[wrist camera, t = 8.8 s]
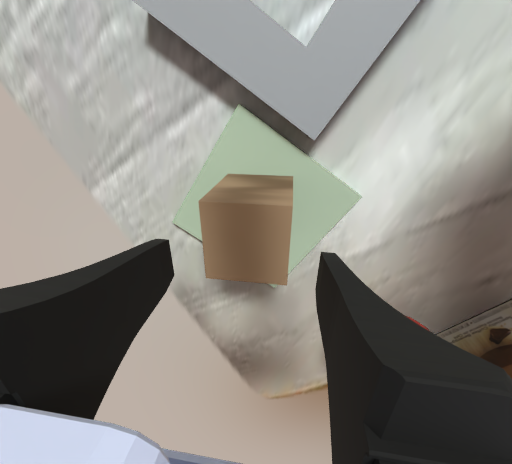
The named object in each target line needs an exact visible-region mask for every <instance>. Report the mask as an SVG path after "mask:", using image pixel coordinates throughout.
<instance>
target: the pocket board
mask: <svg viewBox="0 0 512 464" xmlns="http://www.w3.org/2000/svg"><path fill="white" fill-rule="evenodd" d="M133 1H134V2H135V3H136V4H138V5H139V6H140V7H142V8H143V9H144V10H146V11H147V12H148V13H149V14H151V15H152V16H153V17H155V18H156V19H157V20H158V21H160V22H161V23H162V24H164V25H165V26H166V27H168V28H169V29H170V30H171V31H173V32H174V33H175V34H177V35H178V36H179V37H181V38H182V39H183V40H184V41H186V42H187V43H188V44H190V45H191V46H192V47H194V48H195V49H196V50H197V51H199V52H200V53H201V54H203V55H204V56H205V57H207V58H208V59H209V60H210V61H212V62H213V63H214V64H216V65H217V66H218V67H219V68H221V69H222V70H223V71H225V72H226V73H227V74H229V75H230V76H231V77H232V78H234V79H235V80H236V81H238V82H239V83H240V84H242V85H243V86H244V87H245V88H247V89H248V90H249V91H251V92H252V93H253V94H255V95H256V96H257V97H258V98H260V99H261V100H262V101H264V102H265V103H266V104H268V105H269V106H270V107H271V108H273V109H274V110H275V111H277V112H278V113H279V114H280V115H282V116H283V117H284V118H286V119H287V120H288V121H290V122H291V123H292V124H293V125H295V126H296V127H297V128H299V129H300V130H301V131H303V132H304V133H305V134H306V135H308V136H309V137H310V138H312V139H313V140H314V141H315V139H316V138H317V137H318V135H319V134H320V133H321V131H322V130H323V129H324V127H325V126H326V125H327V123H328V122H329V121H330V119H331V118H332V117H333V115H334V114H335V113H336V111H337V110H338V109H339V108H340V106H341V105H342V104H343V102H344V101H345V100H346V98H347V97H348V96H349V94H350V93H351V92H352V90H353V89H354V88H355V86H356V85H357V84H358V82H359V81H360V80H361V78H362V77H363V76H364V74H365V73H366V72H367V70H368V69H369V68H370V66H371V65H372V64H373V62H374V61H375V60H376V58H377V57H378V56H379V54H380V53H381V52H382V50H383V49H384V48H385V47H386V45H387V44H388V43H389V41H390V40H391V39H392V37H393V36H394V35H395V33H396V32H397V31H398V29H399V28H400V27H401V25H402V24H403V23H404V21H405V20H406V19H407V17H408V16H409V15H410V13H411V12H412V11H413V9H414V8H415V7H416V5H417V4H418V3H419V1H420V0H335V1H334V3H333V5H332V6H331V8H330V10H329V11H328V13H327V14H326V16H325V18H324V19H323V21H322V22H321V24H320V26H319V27H318V29H317V30H316V32H315V34H314V35H313V37H312V38H311V40H310V42H309V43H308V45H307V47H306V46H304V45H303V44H302V43H301V42H300V41H298V40H297V39H296V38H295V37H294V36H292V35H291V34H290V33H289V32H288V31H286V30H285V29H284V28H283V27H282V26H280V25H279V24H278V23H277V22H276V21H275V20H273V19H272V18H271V17H270V16H269V15H267V14H266V13H265V12H264V11H263V10H261V9H260V8H259V7H258V6H257V5H255V4H254V3H253V2H252V1H251V0H133Z"/></svg>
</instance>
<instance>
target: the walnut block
mask: <svg viewBox="0 0 512 464" xmlns="http://www.w3.org/2000/svg"><path fill="white" fill-rule="evenodd" d="M198 203H199V213H200V223H201V233H202V243H203V253H204V263H205V273H206V278H211V279H222V280H233V281H244V282H255V283H266V284H277V285H287V278H288V265H289V251H290V238H291V225H292V212H293V176H277V175H250V174H227V175H226V176H225V177H224V178H223V179H222V180H221V181H220V182H219V183H217V184H216V185H215V186H214V187H213V188H212V189H211V190H210V191H209V192H208V193H207V194H206V195H205V196H204V197H202V198H201V199H200V200H199V201H198Z"/></svg>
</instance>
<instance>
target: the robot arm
mask: <svg viewBox="0 0 512 464" xmlns="http://www.w3.org/2000/svg"><path fill="white" fill-rule="evenodd" d="M173 277H174V269H173V263H172V257H171V251H170V245H169V240H165V239H155V240H151V241H148V242H146V243H143V244H141V245H138V246H136V247H134V248H131V249H129V250H127V251H124V252H122V253H120V254H117V255H115V256H112V257H110V258H107V259H105V260H102V261H100V262H97V263H95V264H92V265H89V266H86V267H84V268H81V269H78V270H74V271H71V272H68V273H65V274H62V275H58V276H54V277H50V278H46V279H42V280H39V281H35V282H31V283H26V284H22V285H17V286H13V287H7V288H2V289H0V464H241V463H236V462H231V461H226V460H220V459H214V458H210V457H205V456H199V455H194V454H189V453H183V452H178V451H172V450H168V449H163V448H161V447H160V446H159V445H158V444H157V443H155V442H154V441H152V440H151V439H149V438H148V437H146V436H144V435H143V434H141V433H140V432H138V431H134V430H131V429H129V428H125V427H122V426H119V425H116V424H112V423H107V422H102V421H96V420H94V417H95V415H96V413H97V410H98V408H99V406H100V404H101V402H102V399H103V398H104V395H105V393H106V391H107V389H108V387H109V385H110V383H111V381H112V379H113V377H114V375H115V373H116V371H117V369H118V367H119V365H120V363H121V361H122V359H123V357H124V356H125V354H126V352H127V350H128V349H129V347H130V345H131V343H132V341H133V340H134V338H135V336H136V335H137V333H138V332H139V330H140V329H141V327H142V326H143V324H144V323H145V322H146V320H147V319H148V317H149V316H150V314H151V313H152V312H153V310H154V309H155V307H156V306H157V304H158V303H159V301H160V300H161V298H162V297H163V295H164V294H165V293H166V291H167V289H168V287H169V285H170V283H171V281H172V279H173ZM316 306H317V314H318V319H319V325H320V331H321V336H322V342H323V347H324V353H325V360H326V369H327V382H328V395H329V410H330V427H331V445H332V464H512V379H511V377H510V376H509V375H508V374H507V373H506V371H505V370H504V369H503V368H500V367H498V366H496V365H494V364H492V363H490V362H488V361H486V360H484V359H482V358H480V357H478V356H475V355H473V354H471V353H469V352H467V351H465V350H463V349H461V348H459V347H457V346H455V345H453V344H451V343H450V342H448V341H446V340H444V339H442V338H440V337H439V336H437V335H435V334H433V333H432V332H430V331H428V330H426V329H425V328H423V327H421V326H420V325H418V324H417V323H415V322H414V321H412V320H411V319H409V318H407V317H406V316H404V315H403V314H401V313H400V312H399V311H397V310H396V309H394V308H393V307H392V306H390V305H389V304H388V303H386V302H385V301H384V300H383V299H381V298H380V297H379V296H378V295H376V294H375V293H374V292H373V291H372V290H371V289H370V288H369V287H367V286H366V285H365V284H364V283H363V282H362V281H361V280H360V279H359V278H358V277H357V276H356V275H355V274H354V273H353V272H352V271H351V270H350V269H349V268H348V267H347V266H346V264H345V263H344V262H343V261H342V260H341V259H340V258H339V257H338V256H337V255H336V254H335V253H327V252H321V256H320V263H319V269H318V276H317V283H316Z"/></svg>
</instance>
